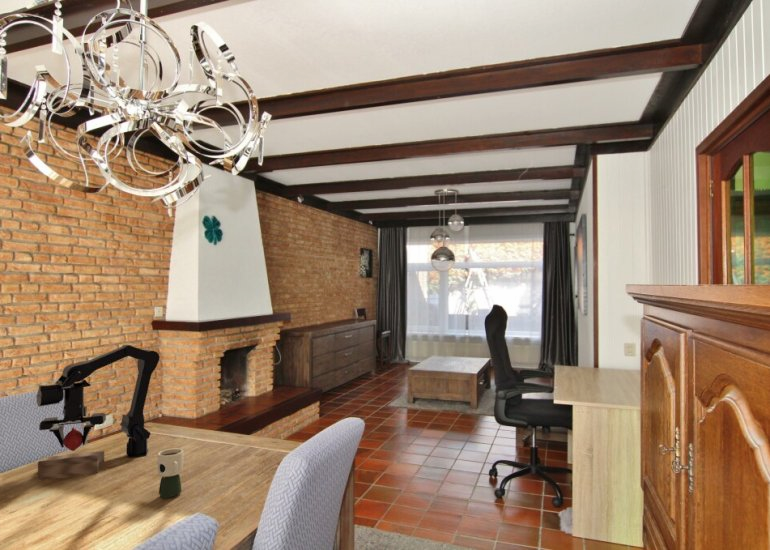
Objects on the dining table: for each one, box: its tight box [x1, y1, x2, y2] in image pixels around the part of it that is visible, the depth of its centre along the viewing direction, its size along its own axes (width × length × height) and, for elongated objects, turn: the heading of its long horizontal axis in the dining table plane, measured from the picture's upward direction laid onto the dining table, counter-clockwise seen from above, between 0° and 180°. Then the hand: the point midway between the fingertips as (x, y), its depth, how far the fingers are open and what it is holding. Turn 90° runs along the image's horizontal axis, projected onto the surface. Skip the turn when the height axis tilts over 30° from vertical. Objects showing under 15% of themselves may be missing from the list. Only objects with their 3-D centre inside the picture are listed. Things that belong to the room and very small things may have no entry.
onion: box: [63, 427, 83, 452], centre depth 163 cm, size 6×6×8 cm
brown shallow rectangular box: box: [37, 450, 105, 481], centre depth 162 cm, size 17×12×6 cm
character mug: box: [156, 447, 184, 499], centre depth 142 cm, size 11×7×13 cm, turn 41°
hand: (73, 446), depth 163 cm, fingers closed on onion, 6 cm apart
